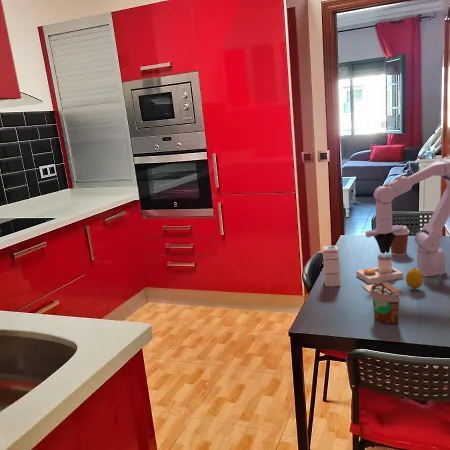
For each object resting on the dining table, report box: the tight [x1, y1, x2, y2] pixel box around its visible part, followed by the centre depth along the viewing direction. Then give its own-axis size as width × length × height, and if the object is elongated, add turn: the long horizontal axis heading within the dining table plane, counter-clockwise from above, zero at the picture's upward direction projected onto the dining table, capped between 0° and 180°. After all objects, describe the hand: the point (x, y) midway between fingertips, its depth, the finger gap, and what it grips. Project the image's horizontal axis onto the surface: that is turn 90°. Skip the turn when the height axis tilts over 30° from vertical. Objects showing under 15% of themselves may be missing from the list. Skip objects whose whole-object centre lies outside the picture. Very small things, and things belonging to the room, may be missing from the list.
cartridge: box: [377, 253, 393, 275], centre depth 173 cm, size 5×5×8 cm
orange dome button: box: [364, 268, 376, 275], centre depth 173 cm, size 4×4×3 cm
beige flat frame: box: [355, 266, 404, 285], centre depth 173 cm, size 14×10×2 cm
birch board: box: [361, 281, 403, 295], centre depth 161 cm, size 10×10×1 cm
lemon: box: [405, 267, 424, 291], centre depth 157 cm, size 6×6×8 cm
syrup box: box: [322, 244, 341, 287], centre depth 170 cm, size 6×6×14 cm
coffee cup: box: [390, 224, 411, 256], centre depth 197 cm, size 9×9×12 cm
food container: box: [369, 281, 401, 326], centre depth 138 cm, size 12×6×10 cm, turn 5°
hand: (384, 252), depth 172 cm, fingers closed
